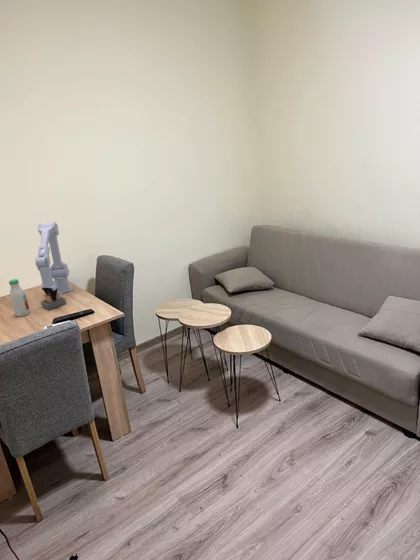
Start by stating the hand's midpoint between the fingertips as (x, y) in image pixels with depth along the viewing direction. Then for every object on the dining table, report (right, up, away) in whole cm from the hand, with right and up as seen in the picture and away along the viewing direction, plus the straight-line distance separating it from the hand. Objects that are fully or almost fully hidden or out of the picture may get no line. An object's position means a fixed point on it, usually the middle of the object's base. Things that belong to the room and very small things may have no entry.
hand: (52, 299), depth 229 cm
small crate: (0, -2, +1) cm, 2 cm away
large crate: (0, -4, +1) cm, 4 cm away
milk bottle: (-14, -8, -6) cm, 17 cm away
